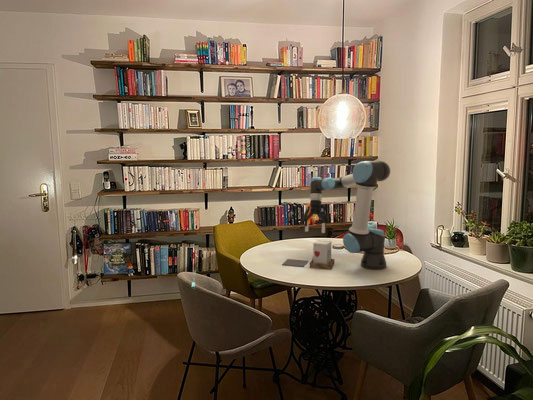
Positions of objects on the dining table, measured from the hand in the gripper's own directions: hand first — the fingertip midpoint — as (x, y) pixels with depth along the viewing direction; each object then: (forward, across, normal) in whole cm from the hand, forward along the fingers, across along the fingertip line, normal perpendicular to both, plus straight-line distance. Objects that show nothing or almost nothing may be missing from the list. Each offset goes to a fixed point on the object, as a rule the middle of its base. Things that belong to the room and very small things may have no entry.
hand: (315, 232), depth 248 cm
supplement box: (+21, +4, +14) cm, 26 cm away
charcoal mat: (+21, +15, +1) cm, 26 cm away
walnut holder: (+21, +4, +14) cm, 25 cm away
